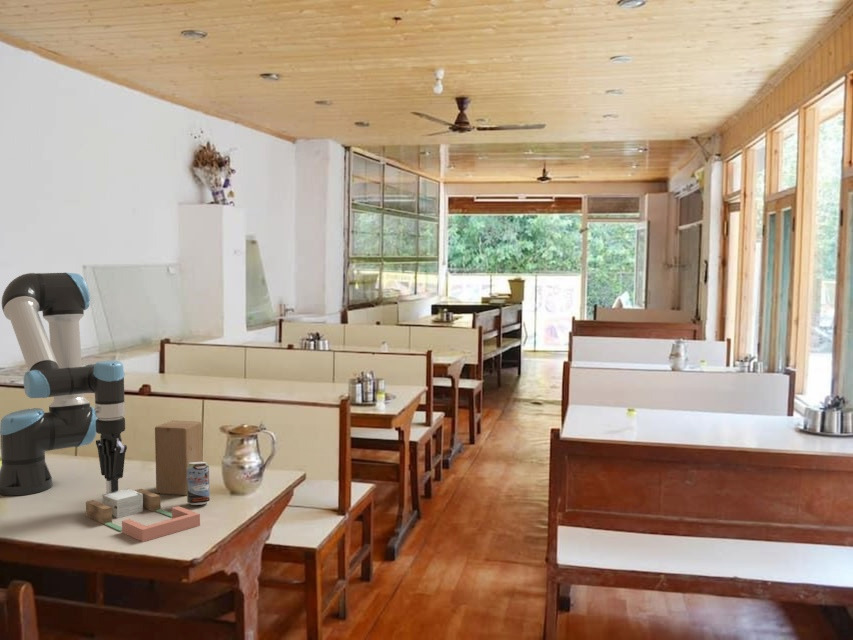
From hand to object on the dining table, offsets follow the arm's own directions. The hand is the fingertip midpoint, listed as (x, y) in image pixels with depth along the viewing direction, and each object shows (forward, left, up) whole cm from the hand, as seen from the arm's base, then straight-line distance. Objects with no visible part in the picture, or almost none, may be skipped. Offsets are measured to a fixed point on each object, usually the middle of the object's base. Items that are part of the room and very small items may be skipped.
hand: (112, 502), depth 218 cm
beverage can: (+14, +18, -2) cm, 23 cm away
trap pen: (+24, 0, -2) cm, 24 cm away
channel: (+6, 0, -2) cm, 6 cm away
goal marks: (+15, 0, -2) cm, 15 cm away
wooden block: (-2, +22, -2) cm, 22 cm away
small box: (+5, +1, -2) cm, 5 cm away
